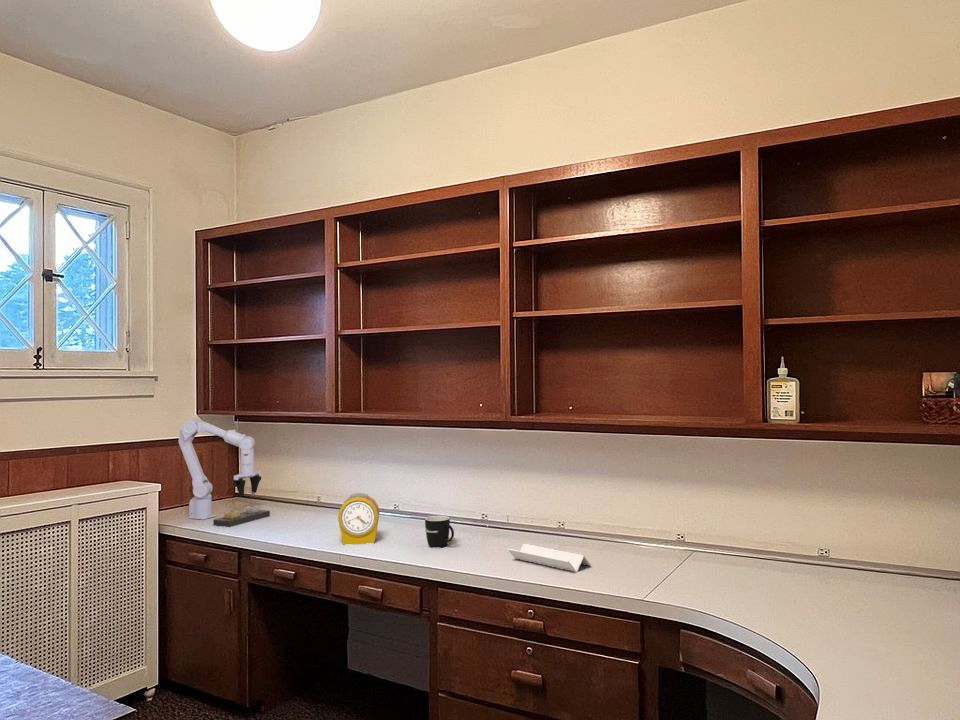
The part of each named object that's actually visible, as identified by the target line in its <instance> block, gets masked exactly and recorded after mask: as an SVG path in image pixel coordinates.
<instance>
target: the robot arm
mask: <svg viewBox="0 0 960 720" xmlns="http://www.w3.org/2000/svg"><path fill="white" fill-rule="evenodd" d="M179 430H180V432H179V436H178V441H177V442H178V445H179V448H180V450H181V452H182V455H183V458H184V461H185V463H186V466H187V468H188V471H189V474H190V476H191V479H192V480H191V481H192V482H191V483H192V484H191V485H192V488H193V489H192V494H193V495H194V496H193V497H192V498H191V499H190V500H189V504H188V507H189V509H188V510H189V511H188V513H189V515H188V517H187V518H188V519H196V520H206V519H207V520H208V519H210V518H214V517H217V515H216V514H213V505H212V504H213V502H212V501H213V500H212V499H213V498H212V496H213V495H212V492H213V488H214V486H213V484H212V483H211V482H210V481H209V479H208V477H207V476H206V475H205V473H204V471H203V468H202V466H201V463H200V461H199V458H198V455H197V453H196V450H195V447H194V444H193V440H194V439H195V437H196V435H198V434H199V433H204V432H205V433H209V434H211V435H215V436H218V437H220V438H222V439H223V440H224V442H225V443H227V444H230V445H233V446H235V447H237V448H238V447H239V448H240V473H238V474H235V475H233V483H234V485H235V487H236V489H237V492H238V496H241V497H242V496H245V486H246V482H247V480H245V479H249V481H250V486H251V490H250V491H251V493H254V494H255V493H257V492H258V491H257V490H258V486H259V484H260V482H261V480H262V471H260V470H259V471H258V470H257V471H255V452H254V451H255V448H254V446H255V444H256V441H255V439H254V437H252V436H250V435H246V434H245V433H243V434H242V433H239V432H238V431H237V430H235V429H229V430H224V429H222V428H220V427H218V426H216V425H213V424H212V423H209V422H207V421H204V420H199V419H198V418H193V419H190V420H186V421H184V422H183V423H182V425H181V426H180V428H179Z"/></svg>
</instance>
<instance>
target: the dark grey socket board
mask: <svg viewBox="0 0 960 720" xmlns="http://www.w3.org/2000/svg"><path fill="white" fill-rule="evenodd" d="M267 517H271V510H266V509H260V512H259V513H255V514H246V513H245V511H242V512H240V518H236V519H232V520H231V519H224V516H222V517H218V518H215V519H213V521H212V522H213V523H212V524H213V526H215V525H216V526H217V527H224V526H225V527H226V528H231V527H234V526H238V525H241V524H246V523H249V522H253V521H256V520H261V519H264V518H267ZM216 526H215V527H216ZM225 527H224V528H225Z"/></svg>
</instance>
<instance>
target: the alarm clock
mask: <svg viewBox="0 0 960 720" xmlns="http://www.w3.org/2000/svg"><path fill="white" fill-rule="evenodd" d="M379 518H380V508H379V505H378V503H377V502H376V500H375V498H374V497H372V496H369V495H368V494H367V493H361V492H356V493H352V494H350V495H349V497H348V498H346V499H345V501H344V502H343V503H342V505H341V507H340V508H339V510H338V516H337V520H338V525H339V530H340V535H341V540H342V544H343V546H346V545H345V544H353V545H367V544H366V543H374V542H376V538H377V537H376V536H377V529H378V526H379ZM374 544H375V543H374Z"/></svg>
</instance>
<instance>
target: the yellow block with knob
mask: <svg viewBox="0 0 960 720" xmlns="http://www.w3.org/2000/svg"><path fill="white" fill-rule="evenodd" d="M240 513H241V511H239V510H229V511H224V512H223V517H224V519H231V520H232V519H236V518H240Z"/></svg>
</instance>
